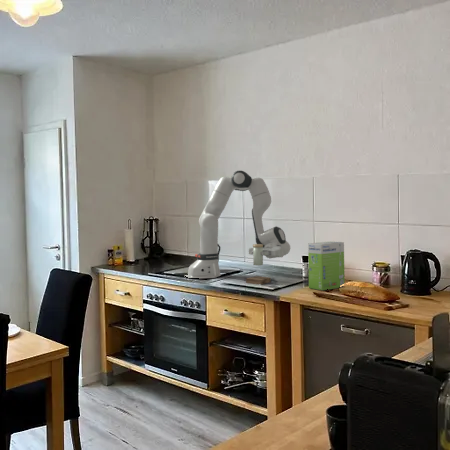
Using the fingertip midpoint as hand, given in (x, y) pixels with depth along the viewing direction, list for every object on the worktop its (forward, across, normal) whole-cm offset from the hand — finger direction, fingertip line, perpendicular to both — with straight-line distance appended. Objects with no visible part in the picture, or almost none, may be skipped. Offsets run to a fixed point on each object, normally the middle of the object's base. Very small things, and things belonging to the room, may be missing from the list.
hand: (257, 253), depth 292 cm
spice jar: (-1, 0, +7) cm, 7 cm away
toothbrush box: (-8, +40, +17) cm, 44 cm away
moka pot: (-20, -53, +17) cm, 59 cm away
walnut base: (-1, 0, +17) cm, 17 cm away
